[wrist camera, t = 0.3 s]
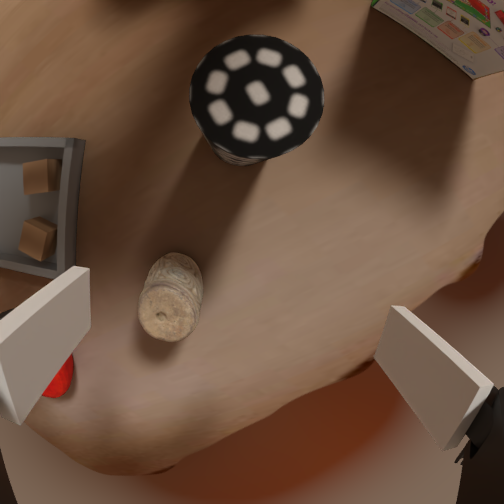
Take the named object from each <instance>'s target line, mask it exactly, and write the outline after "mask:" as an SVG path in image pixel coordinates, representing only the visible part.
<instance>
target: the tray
mask: <svg viewBox="0 0 504 504" xmlns="http://www.w3.org/2000/svg"><path fill="white" fill-rule="evenodd" d="M85 141H86V140H82V139H76V138H55V137H6V138H0V267H2V268H6V269H11V270H15V271H19V272H24V273H28V274H32V275H37V276H41V277H46V278H51V279H56V278H57V277H59V276H60V275H61V274H63V273H64V272H66V271H67V270H69V269H70V268H71V267H73V266H76V231H77V213H78V200H79V189H80V179H81V170H82V162H83V155H84V148H85ZM43 159H62V172H61V182H60V190H57V191H51V192H44V193H36V194H29V195H24V187H23V163H27V162H33V161H38V160H43ZM39 216H40V217H42V218H44V219H46V220H48V221H50V222H52V223H54V224H56V225H58V226H57V246H56V251H55V254H54V255H52V256H50V257H48V258H46V259H44V260H43V261H41V262H40V261H38V260H37V259H35V258H33V257H31V256H29V255H27V254H26V253H24V252H22V251H20V250H18V248H19V243H20V238H21V233H22V228H23V223H24V221H25V220H29V219H32V218H35V217H39Z"/></svg>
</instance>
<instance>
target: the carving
mask: <svg viewBox="0 0 504 504" xmlns="http://www.w3.org/2000/svg"><path fill="white" fill-rule="evenodd" d="M202 297H203V281H202V275H201V272H200V270H199V268H198V266H197V264H196V263H195V262H194V261H193V260H192V259H191V258H190V257H188V256H186V255H184V254H180V253H168V254H166V255H164V256H162V257H161V259H158V260H157V261H156V262H155V264H153V266H152V268H151V269H150V271H149V273H148V277H147V279H146V281H145V283H144V289H143V291H142V292H141V294H140V297H139V302H138V319H139V322H140V324H141V325H142V327H143V329H144V330H145V331H146V332H147V333H148V334H149V335H150V336H151V337H153V338H155V339H158V340H162V341H166V342H177V341H181V340H183V339H185V338H186V337H188V336H189V335H190V334H191V333H192V332H193V331H194V329H195V328H196V326H197V324H198V321H199V316H200V313H199V312H200V308H201V302H202Z"/></svg>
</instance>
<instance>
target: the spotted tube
mask: <svg viewBox="0 0 504 504" xmlns="http://www.w3.org/2000/svg"><path fill="white" fill-rule="evenodd" d="M189 102H190V106H191V111H192V114H193V117H194V119H195V121H196V123H197V125H198V127H199V129H200V130H201V132H202V133H203V135H204V137H205V138H206V140H207V142H208V143H209V145H210V147H211V148H212V150H213V151H214V153H215V154H216V155H217V156H218V157H219V158H220V159H222V160H223V161H225V162H227V163H229V164H232V165H237V166H247V165H252V164H255V163H258V162H261V161H265V160H268V159H271V158H274V157H277V156H280V155H283V154H285V153H288V152H290V151H292V150H294V149H295V148H297V147H298V146H300V145H301V144H303V143H304V142H305V141H306V140H307V139H308V138H309V137H310V136H311V135H312V133H313V132H314V130H315V129H316V127H317V126H318V123H319V121H320V118H321V116H322V113H323V107H324V89H323V85H322V81H321V78H320V76H319V73H318V71H317V69H316V67H315V66H314V65H313V63H312V62H311V61H310V59H309V58H308V57H307V56H306V55H305V54H304V53H303V52H302V51H300V50H299V49H298V48H296V47H295V46H293V45H292V44H290V43H288V42H286V41H284V40H281V39H279V38H276V37H271V36H266V35H244V36H238V37H235V38H232V39H229V40H226V41H224V42H223V43H221V44H219V45H217V46H216V47H214V48H213V49H212V50H211V51H209V52H208V53H207V54H206V55H205V56H204V57H203V59H202V60H201V61H200V63H199V64H198V65H197V67H196V70H195V72H194V74H193V76H192V80H191V84H190V88H189Z"/></svg>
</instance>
